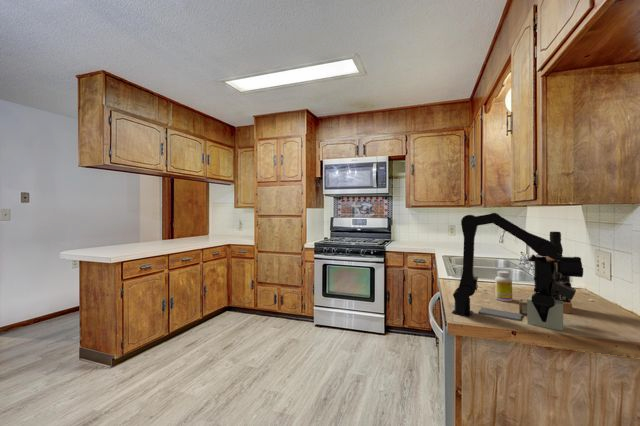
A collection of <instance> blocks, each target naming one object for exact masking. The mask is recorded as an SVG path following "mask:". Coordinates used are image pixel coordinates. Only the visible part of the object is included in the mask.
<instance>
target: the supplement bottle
mask: <svg viewBox="0 0 640 426" xmlns="http://www.w3.org/2000/svg"><path fill="white" fill-rule="evenodd" d="M496 274H497V276H496V277H495V278H494V281H495V283H494V284H495V285H494V287H495V288H494V290H495V292H494V295H495V299H496V300H497V301H500V302H512V301H513V279H512V278H511V277H510V272H509V271H504V270H498V271H497V273H496Z"/></svg>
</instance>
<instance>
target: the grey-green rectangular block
mask: <svg viewBox="0 0 640 426" xmlns="http://www.w3.org/2000/svg"><path fill="white" fill-rule="evenodd" d="M526 300H527V316H526V317H527V319H526V320H527V325H531V326H537V327H542V328H547V329H552V330H558V331H564V313H563V301H558V300H555V306H554V307H551V308H550V309H549V312H548V316H547V320H546V322H542V320H541V318H540V316H539V314H538V312H537V310H536V308H535V306H534V304H533V303H532V296H527V298H526Z"/></svg>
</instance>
